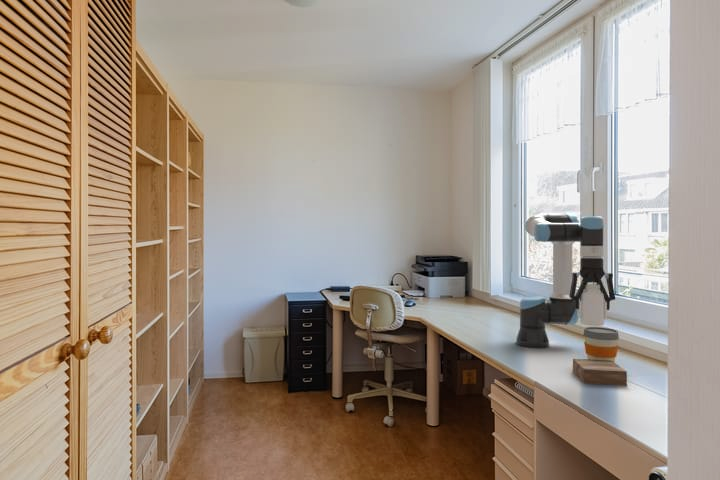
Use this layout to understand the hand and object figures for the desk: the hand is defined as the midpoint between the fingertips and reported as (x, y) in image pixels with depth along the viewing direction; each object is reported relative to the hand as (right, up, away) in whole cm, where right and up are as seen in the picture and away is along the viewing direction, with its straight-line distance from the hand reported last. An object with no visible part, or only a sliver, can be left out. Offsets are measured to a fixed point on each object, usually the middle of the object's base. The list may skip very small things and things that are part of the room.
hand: (591, 318), depth 161 cm
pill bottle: (0, -2, 0) cm, 2 cm away
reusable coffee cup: (+11, -23, +14) cm, 29 cm away
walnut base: (+2, -22, 0) cm, 23 cm away
